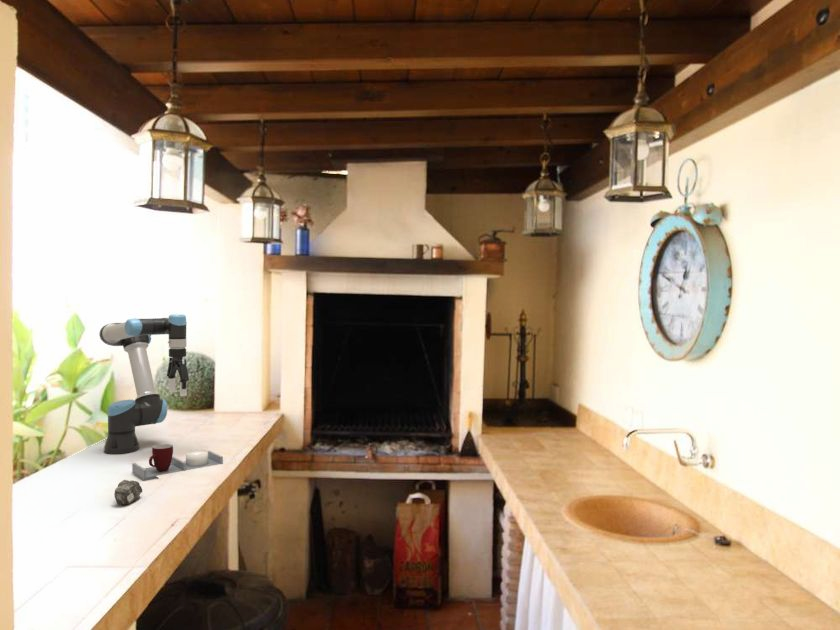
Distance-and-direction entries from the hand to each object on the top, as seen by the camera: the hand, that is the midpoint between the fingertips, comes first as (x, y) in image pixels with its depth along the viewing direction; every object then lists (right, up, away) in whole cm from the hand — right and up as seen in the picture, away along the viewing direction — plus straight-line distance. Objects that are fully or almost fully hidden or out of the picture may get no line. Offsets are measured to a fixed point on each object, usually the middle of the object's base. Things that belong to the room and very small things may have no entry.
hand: (177, 394), depth 284 cm
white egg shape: (+15, -28, -15) cm, 35 cm away
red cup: (+4, -29, -27) cm, 40 cm away
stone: (+6, -31, -60) cm, 68 cm away
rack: (+9, -29, -21) cm, 37 cm away
